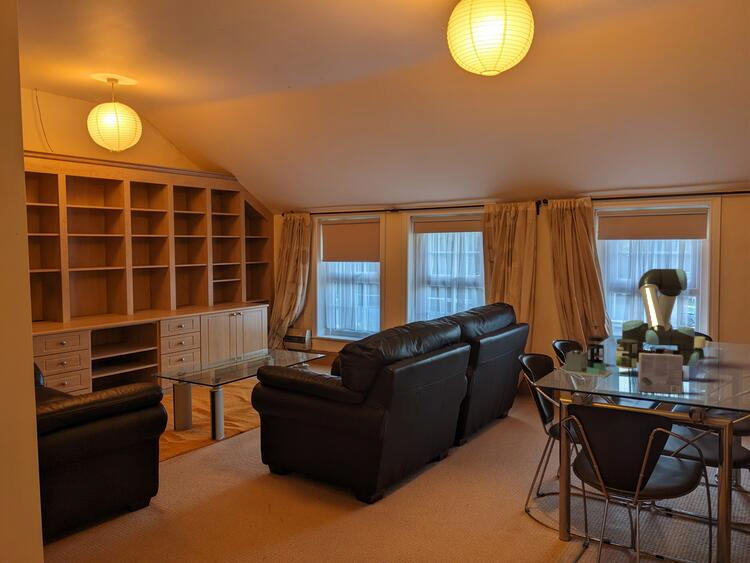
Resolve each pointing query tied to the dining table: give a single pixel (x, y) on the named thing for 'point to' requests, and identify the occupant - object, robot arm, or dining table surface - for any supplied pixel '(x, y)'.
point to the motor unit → (583, 365)
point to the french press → (595, 350)
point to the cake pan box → (660, 373)
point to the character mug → (700, 345)
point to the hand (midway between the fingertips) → (618, 351)
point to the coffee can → (626, 346)
